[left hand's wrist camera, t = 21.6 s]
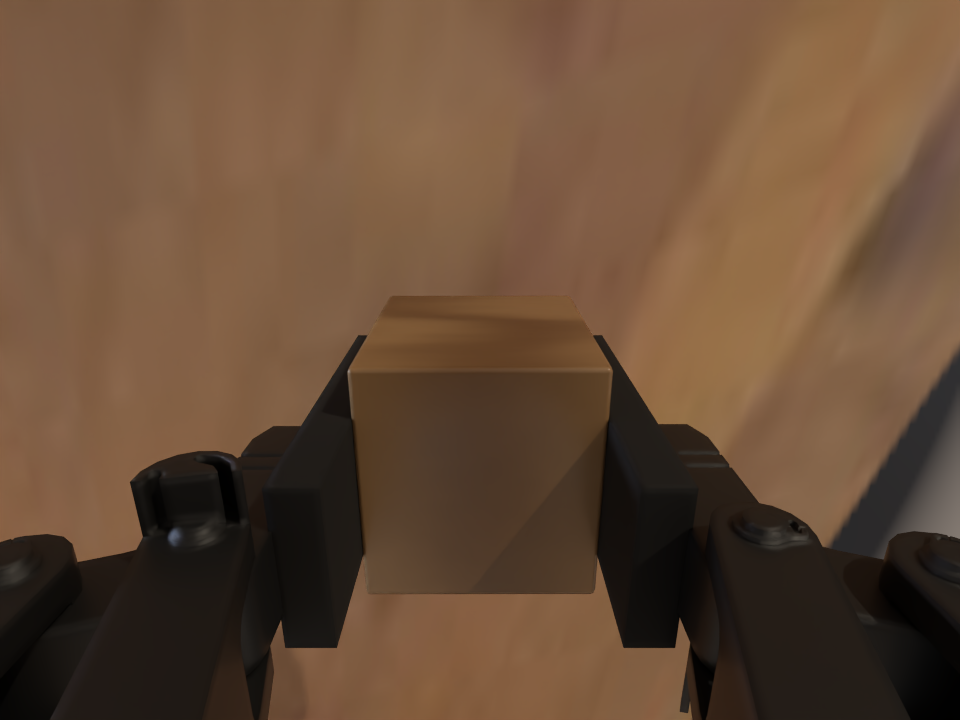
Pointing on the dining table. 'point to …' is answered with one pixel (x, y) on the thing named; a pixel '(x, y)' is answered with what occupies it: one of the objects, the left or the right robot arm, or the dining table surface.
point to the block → (480, 446)
